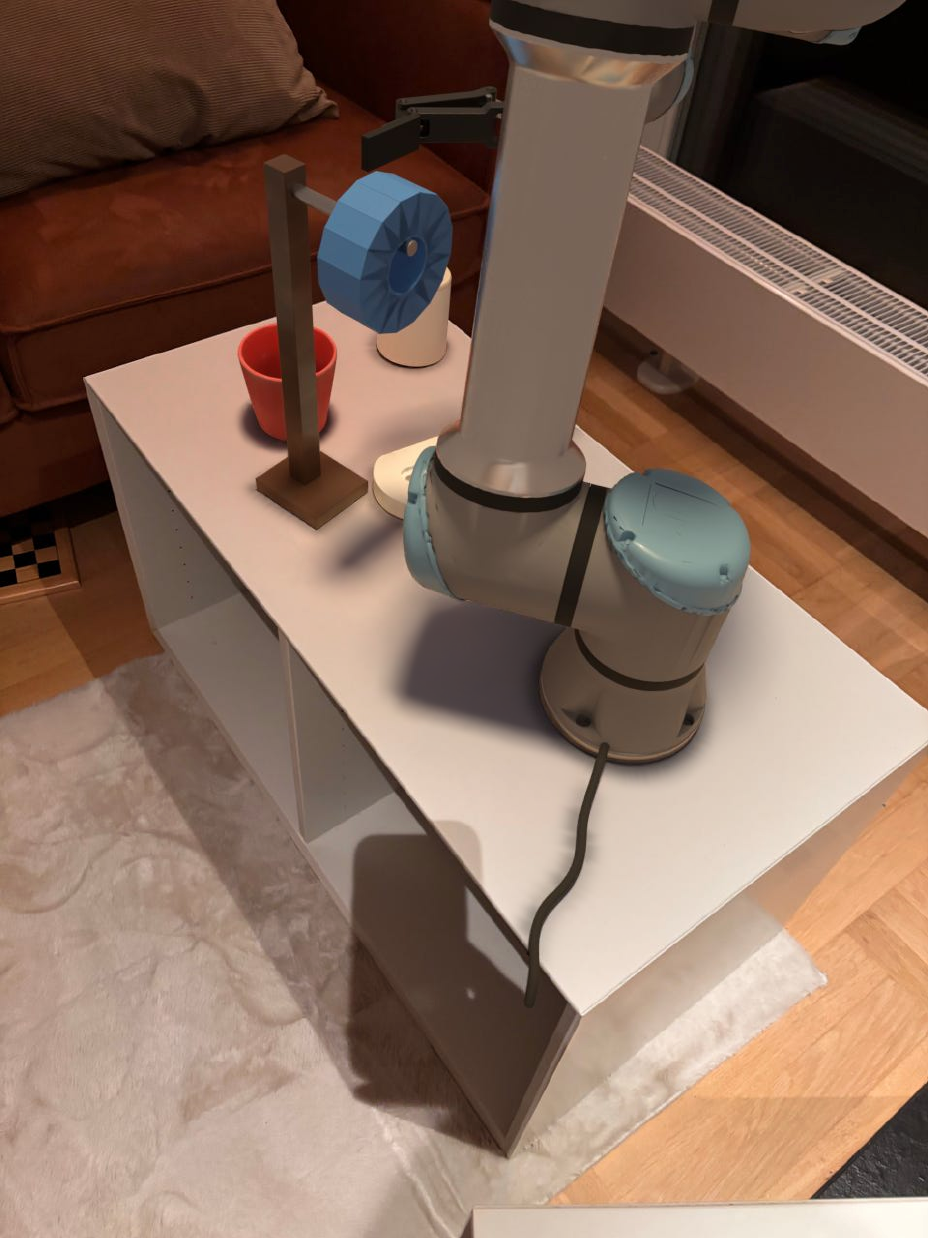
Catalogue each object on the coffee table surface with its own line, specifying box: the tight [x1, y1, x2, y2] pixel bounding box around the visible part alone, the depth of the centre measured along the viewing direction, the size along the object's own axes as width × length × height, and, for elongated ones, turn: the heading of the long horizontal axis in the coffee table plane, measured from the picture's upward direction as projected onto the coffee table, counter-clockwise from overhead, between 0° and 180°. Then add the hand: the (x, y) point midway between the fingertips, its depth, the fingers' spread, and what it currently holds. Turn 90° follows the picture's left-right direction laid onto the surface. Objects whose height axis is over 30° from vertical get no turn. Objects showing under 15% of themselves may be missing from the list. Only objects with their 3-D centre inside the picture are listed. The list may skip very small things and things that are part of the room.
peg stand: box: [255, 153, 417, 530], centre depth 86 cm, size 17×8×35 cm, turn 52°
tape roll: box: [316, 170, 454, 334], centre depth 73 cm, size 4×11×11 cm, turn 142°
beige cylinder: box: [375, 267, 452, 367], centre depth 116 cm, size 11×9×10 cm
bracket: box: [372, 435, 439, 520], centre depth 102 cm, size 20×9×7 cm, turn 123°
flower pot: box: [237, 322, 338, 442], centre depth 104 cm, size 11×11×10 cm
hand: (428, 184), depth 73 cm, fingers open, 13 cm apart
